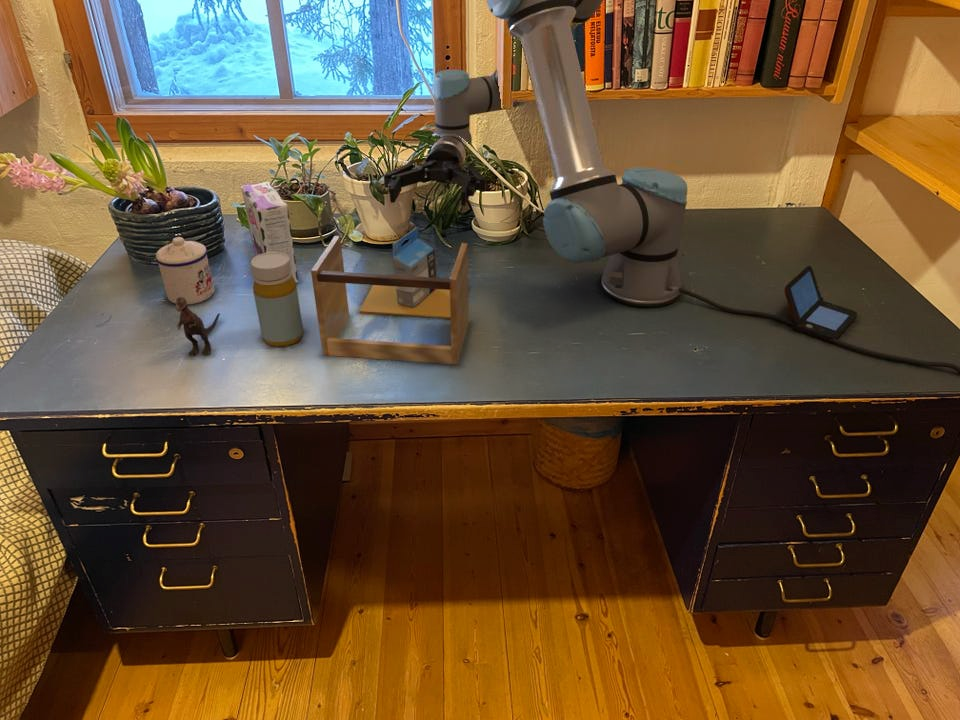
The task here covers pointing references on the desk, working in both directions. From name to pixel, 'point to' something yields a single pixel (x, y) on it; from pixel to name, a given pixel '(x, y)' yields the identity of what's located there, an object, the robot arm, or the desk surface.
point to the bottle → (276, 299)
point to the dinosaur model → (193, 327)
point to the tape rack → (333, 285)
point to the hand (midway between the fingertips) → (427, 197)
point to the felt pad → (386, 303)
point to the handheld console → (815, 308)
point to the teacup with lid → (185, 271)
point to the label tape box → (413, 267)
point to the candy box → (269, 222)
